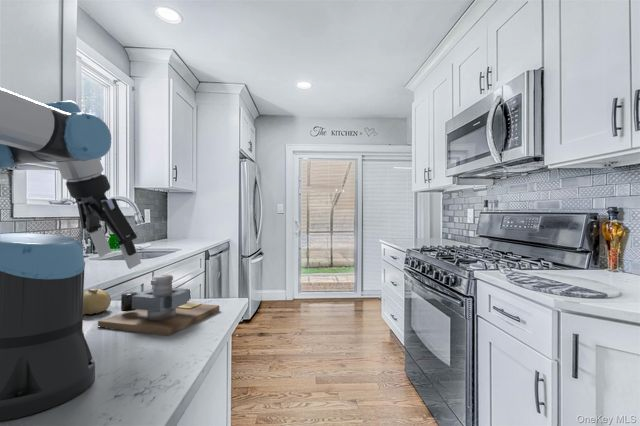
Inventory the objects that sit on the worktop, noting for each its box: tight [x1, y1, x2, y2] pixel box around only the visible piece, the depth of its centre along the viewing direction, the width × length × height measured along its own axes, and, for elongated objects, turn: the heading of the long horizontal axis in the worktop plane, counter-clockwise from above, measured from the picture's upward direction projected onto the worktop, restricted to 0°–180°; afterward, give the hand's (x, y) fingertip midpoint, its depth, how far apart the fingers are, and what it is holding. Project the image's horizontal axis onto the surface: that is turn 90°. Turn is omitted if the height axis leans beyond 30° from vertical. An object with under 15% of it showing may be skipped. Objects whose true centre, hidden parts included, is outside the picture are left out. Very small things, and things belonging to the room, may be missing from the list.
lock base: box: [97, 274, 220, 337], centre depth 84 cm, size 20×20×12 cm
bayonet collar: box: [120, 287, 191, 312], centre depth 82 cm, size 17×10×5 cm, turn 75°
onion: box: [83, 287, 112, 315], centre depth 89 cm, size 8×8×7 cm
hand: (119, 259), depth 79 cm, fingers open, 13 cm apart
